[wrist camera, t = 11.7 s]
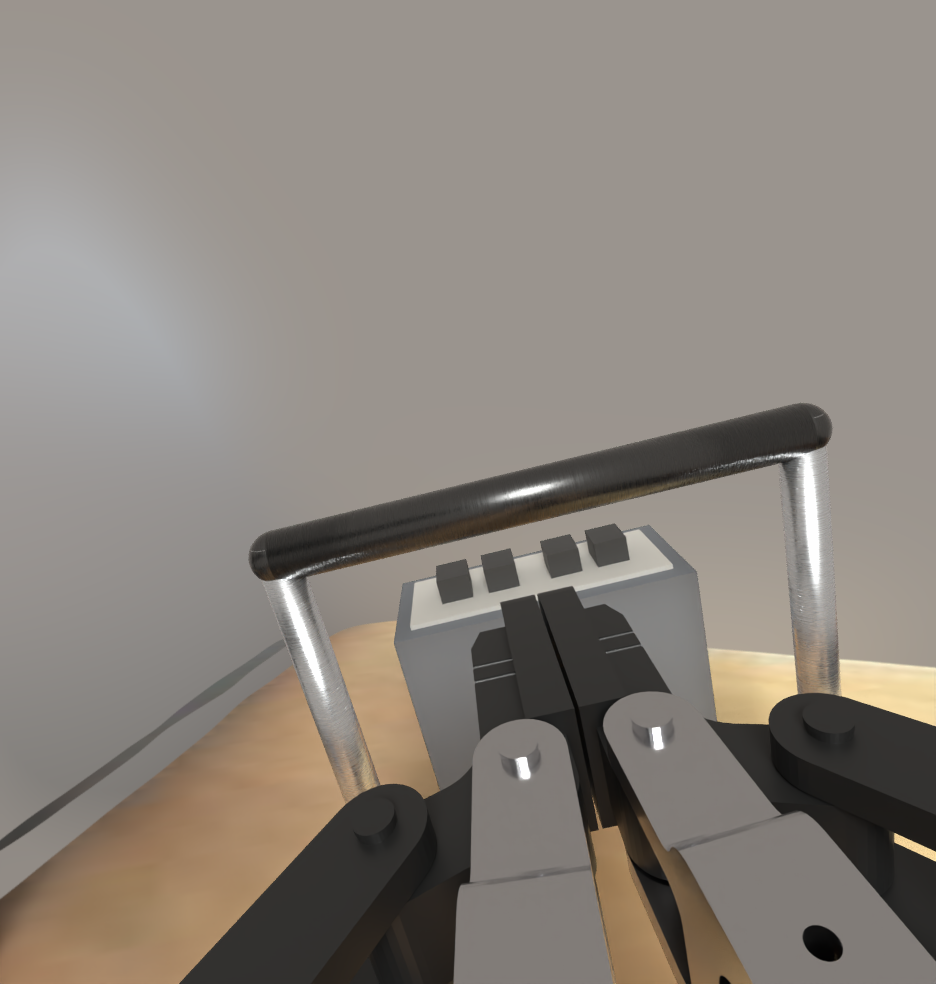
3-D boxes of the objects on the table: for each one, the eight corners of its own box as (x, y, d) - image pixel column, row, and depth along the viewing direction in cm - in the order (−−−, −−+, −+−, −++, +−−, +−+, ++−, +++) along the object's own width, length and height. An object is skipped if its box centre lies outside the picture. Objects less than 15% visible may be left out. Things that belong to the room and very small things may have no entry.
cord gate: (408, 1073, 26) (205, 573, 19) (414, 936, 32) (261, 514, 24) (906, 964, 25) (892, 407, 18) (819, 845, 31) (784, 387, 24)
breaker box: (451, 827, 38) (385, 614, 33) (449, 741, 45) (395, 559, 41) (722, 765, 37) (692, 541, 33) (674, 689, 45) (645, 500, 40)
